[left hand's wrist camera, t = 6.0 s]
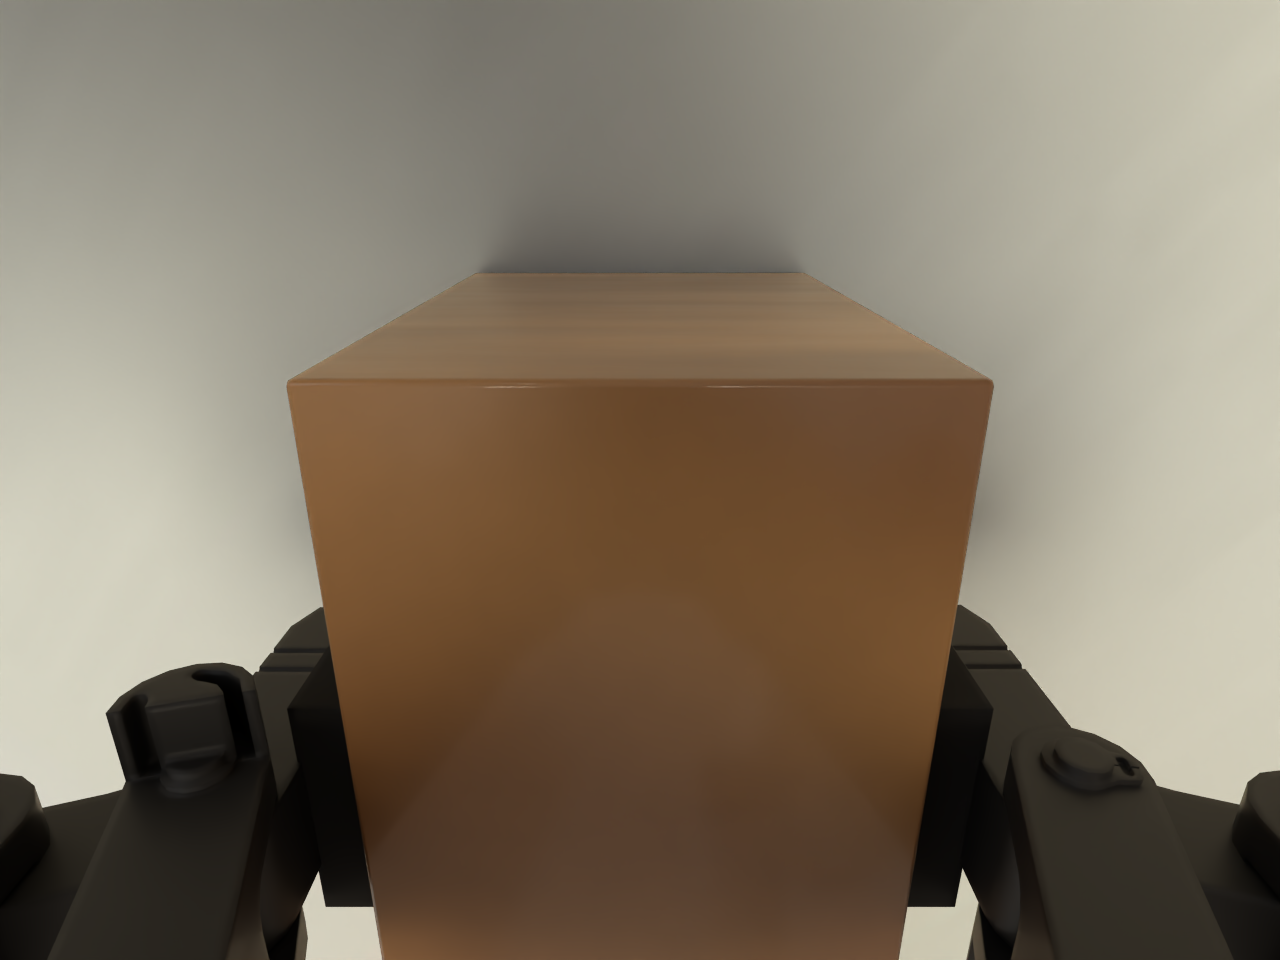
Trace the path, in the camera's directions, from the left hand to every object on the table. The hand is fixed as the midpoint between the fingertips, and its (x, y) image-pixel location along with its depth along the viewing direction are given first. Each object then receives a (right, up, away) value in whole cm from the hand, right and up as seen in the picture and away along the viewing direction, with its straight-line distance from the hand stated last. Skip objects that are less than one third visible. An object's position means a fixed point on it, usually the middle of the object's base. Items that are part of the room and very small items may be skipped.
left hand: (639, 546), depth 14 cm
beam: (0, -32, +13) cm, 34 cm away
